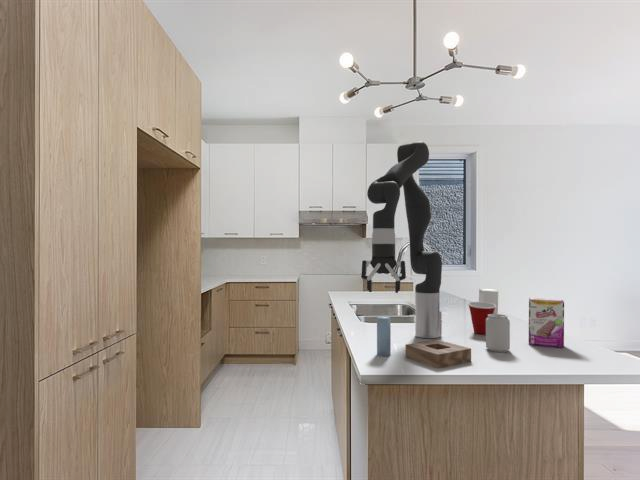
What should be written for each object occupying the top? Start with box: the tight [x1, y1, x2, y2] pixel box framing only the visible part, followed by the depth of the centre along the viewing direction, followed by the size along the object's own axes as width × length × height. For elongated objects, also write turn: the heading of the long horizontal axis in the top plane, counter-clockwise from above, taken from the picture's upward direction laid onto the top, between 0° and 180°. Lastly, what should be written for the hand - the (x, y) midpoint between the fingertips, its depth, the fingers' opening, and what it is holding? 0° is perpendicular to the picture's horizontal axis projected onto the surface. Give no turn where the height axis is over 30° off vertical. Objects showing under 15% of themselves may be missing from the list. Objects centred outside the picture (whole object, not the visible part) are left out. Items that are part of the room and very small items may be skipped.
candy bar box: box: [528, 297, 565, 349], centre depth 151 cm, size 11×5×16 cm, turn 65°
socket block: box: [405, 339, 472, 369], centre depth 133 cm, size 14×14×4 cm
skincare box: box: [478, 288, 499, 314], centre depth 191 cm, size 8×7×16 cm
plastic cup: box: [467, 301, 496, 336], centre depth 171 cm, size 11×11×12 cm
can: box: [485, 313, 511, 353], centre depth 144 cm, size 8×8×12 cm
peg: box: [376, 316, 392, 357], centre depth 138 cm, size 4×4×12 cm
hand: (383, 292), depth 139 cm, fingers open, 8 cm apart
